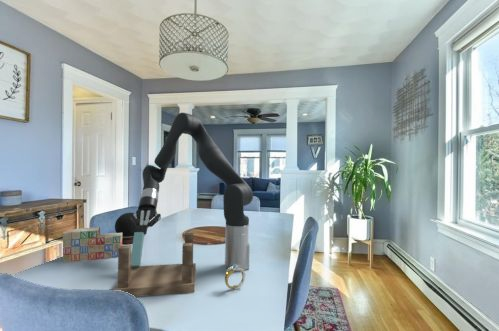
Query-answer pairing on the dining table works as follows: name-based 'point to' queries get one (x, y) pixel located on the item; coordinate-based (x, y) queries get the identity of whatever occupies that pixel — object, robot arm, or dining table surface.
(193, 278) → the wooden rack
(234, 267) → the bracelet
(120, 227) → the black ball on pedestal
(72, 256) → the stack of blocks
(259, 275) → the dining table surface
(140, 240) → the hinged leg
